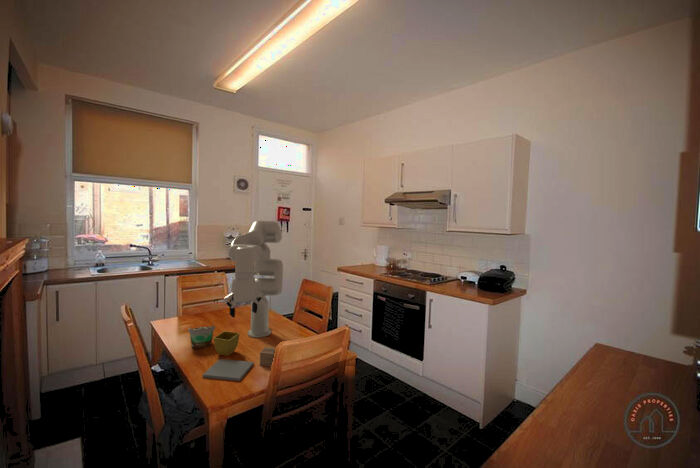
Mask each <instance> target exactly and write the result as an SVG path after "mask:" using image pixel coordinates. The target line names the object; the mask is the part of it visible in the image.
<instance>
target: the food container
mask: <svg viewBox="0 0 700 468" xmlns="http://www.w3.org/2000/svg"><path fill="white" fill-rule="evenodd" d="M215 329H216V327H215V324H213V325H211V326H198V327H194V328H191V327H189V328H188V330H187V331H188V333H189V335H190V337H189V338H190V343H191V348H193V349H196V350H203V349H206V348H209V347H211V346H212V344H213V339H214V337H213V336H214V331H215Z"/></svg>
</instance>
